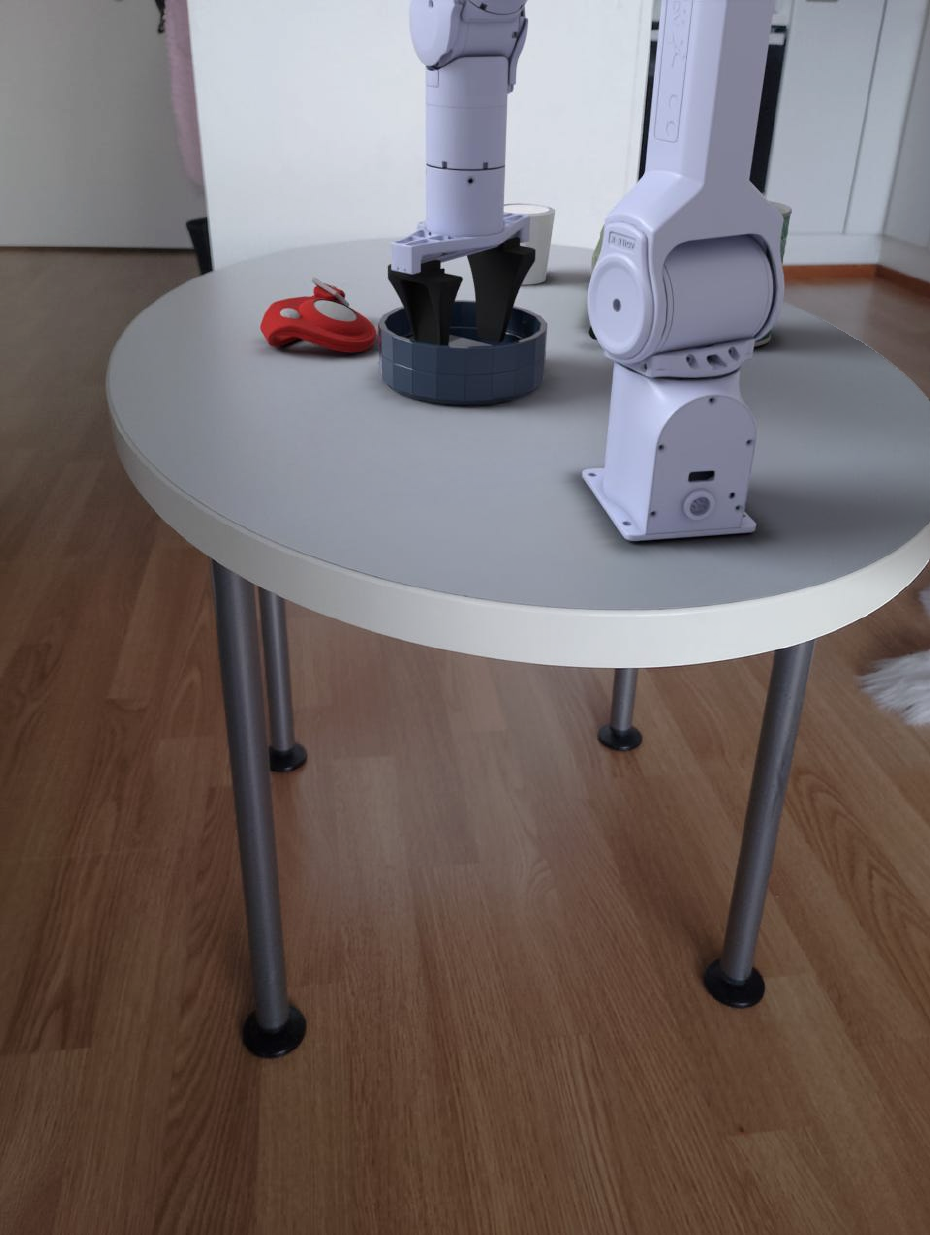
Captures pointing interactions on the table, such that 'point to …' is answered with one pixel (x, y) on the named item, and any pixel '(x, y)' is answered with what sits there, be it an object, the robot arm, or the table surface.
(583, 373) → the table surface
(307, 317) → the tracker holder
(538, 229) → the white cup
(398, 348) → the bowl
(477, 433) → the table surface
